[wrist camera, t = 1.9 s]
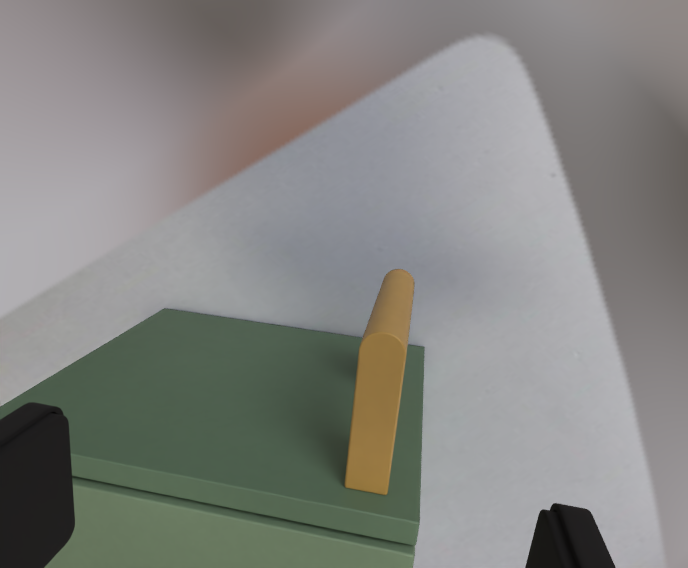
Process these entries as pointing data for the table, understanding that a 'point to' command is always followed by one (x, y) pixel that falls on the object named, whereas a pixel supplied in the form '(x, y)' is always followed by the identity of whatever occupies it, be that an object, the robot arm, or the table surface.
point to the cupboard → (205, 536)
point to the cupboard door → (256, 415)
